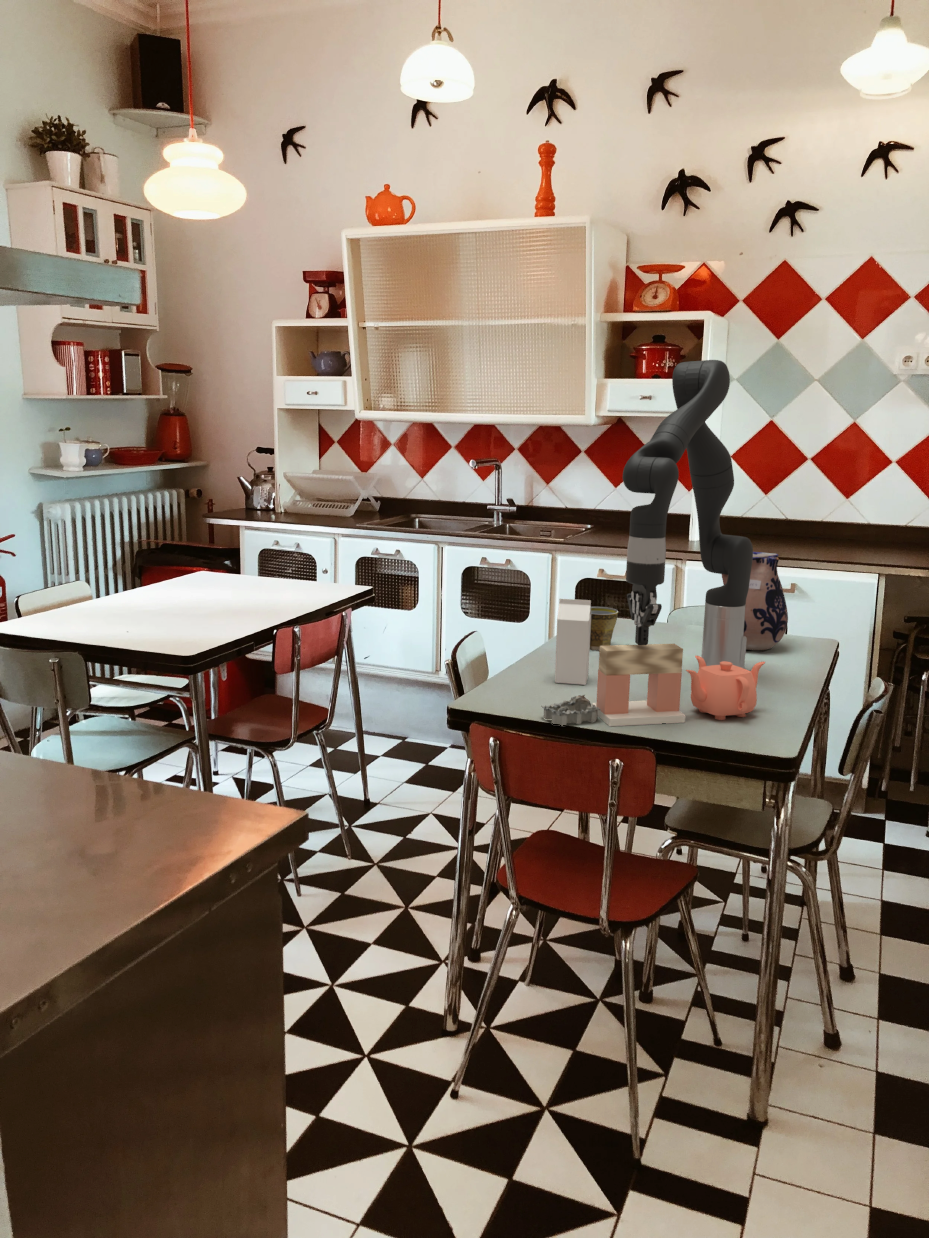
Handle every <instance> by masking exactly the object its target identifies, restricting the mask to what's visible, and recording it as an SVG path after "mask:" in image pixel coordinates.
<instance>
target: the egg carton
mask: <svg viewBox="0 0 929 1238" xmlns="http://www.w3.org/2000/svg"><path fill="white" fill-rule="evenodd" d="M591 704H592V702H591V701H590V699H588V698H587V697H586V694H582V695H581V694H580V695H574V696H573V697H571V698H570V700H563V701H562V702H559V703H556V702H555V703H552V704H550V705H541V709H542V710H543V718H545V719H552V721H551V724H552V723H553V724H560V725H561V726H560V725H559V726H560V727H564V726H563V725H566V726H567V724H566V723H568V724H574V723H576V724H575V725H582V723H583V722H588V723H596V722H597V720H598V718H599V716H598V710H601V709H599V707H597V708H596V707H595V705H593V707H591ZM553 724H552V725H553Z"/></svg>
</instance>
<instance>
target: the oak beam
mask: <svg viewBox="0 0 929 1238" xmlns="http://www.w3.org/2000/svg"><path fill="white" fill-rule="evenodd" d="M598 651H599V655H598V659H599V660H598V669H599V670H600V671H601V672H602V673H603V674H605V675H630V676H632V675H649V674H663V673H683V658H684V648H682V647H681V646H680V645H677V644H676V643H648V644H647V645H638V644H616V645H611V644H610V645H607V646H600V650H598Z"/></svg>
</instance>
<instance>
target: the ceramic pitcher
mask: <svg viewBox="0 0 929 1238" xmlns="http://www.w3.org/2000/svg"><path fill="white" fill-rule="evenodd" d="M779 560H780V559H779V554H778V553H775V552H773V553H769V552H765V551H764V552H763V551H760V552H759V551H753V560H752V567H751V574H750V582H749V590H748V594H747V598H746V607H745V620H744V632H743V636H745V637H746V638H747V640H746V651H764V650H769V649H771V648H773V647H774V646H776V645H777V644H778V643H779V642H781V640H782V638H783V637H784V635H785V633H786V631H787V627H788V623H789V622H788V621H789V613H788V606H787V602H786V597H785V593H784V591H783V584H782V583H781V580H780V576H779V574H778V573H779V572H778V563H779ZM721 578H722V584H723V585H725V584H726V583H727V579H728V575H725V574H721Z"/></svg>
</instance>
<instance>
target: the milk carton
mask: <svg viewBox="0 0 929 1238" xmlns="http://www.w3.org/2000/svg"><path fill="white" fill-rule="evenodd" d="M591 603H592V600H590V599H589V600H588V599H573V598H572V599H571V598H559V600H558V611H557V619H556V641H555V646H556V647H555V663H554V664H555V667H554V669H555V670H554V683H556V684H569V685H571V684H572V685H584V686H585V685H586V684H587V682H588V678H589V670H590V668H589V667H590V652H591V650H590V630H591V607H592V604H591Z"/></svg>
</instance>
